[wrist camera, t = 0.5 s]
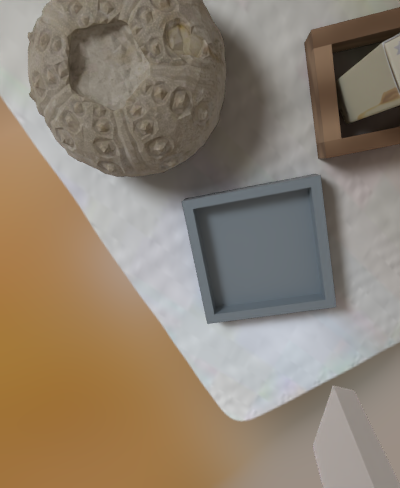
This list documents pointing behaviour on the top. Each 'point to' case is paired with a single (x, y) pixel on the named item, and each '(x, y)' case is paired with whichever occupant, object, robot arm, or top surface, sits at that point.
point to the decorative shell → (128, 80)
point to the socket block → (324, 85)
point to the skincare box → (371, 83)
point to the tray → (261, 249)
